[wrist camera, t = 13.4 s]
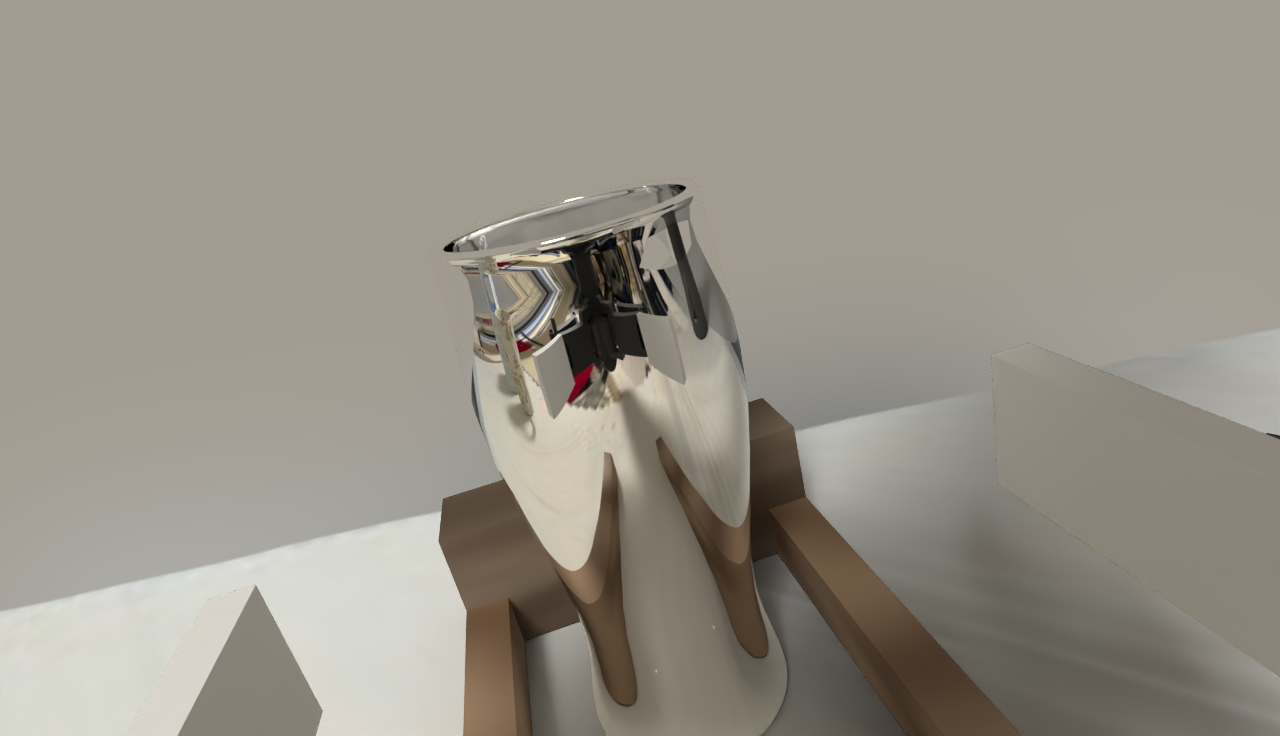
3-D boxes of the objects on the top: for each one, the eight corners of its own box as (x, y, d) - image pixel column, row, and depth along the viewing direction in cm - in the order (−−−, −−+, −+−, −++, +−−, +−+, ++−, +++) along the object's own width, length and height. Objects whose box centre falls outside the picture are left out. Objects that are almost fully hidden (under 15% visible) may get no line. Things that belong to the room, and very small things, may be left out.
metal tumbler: (545, 689, 23) (382, 251, 18) (702, 578, 26) (605, 181, 21) (673, 840, 17) (492, 266, 12) (852, 675, 21) (772, 167, 15)
